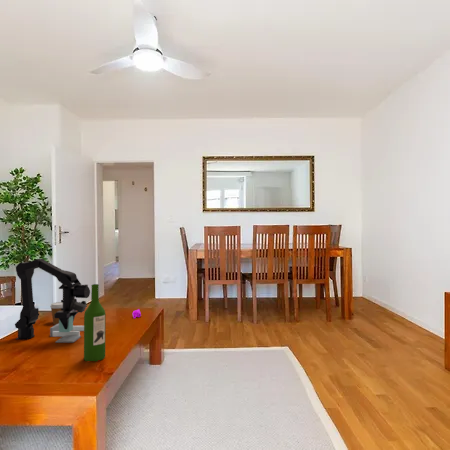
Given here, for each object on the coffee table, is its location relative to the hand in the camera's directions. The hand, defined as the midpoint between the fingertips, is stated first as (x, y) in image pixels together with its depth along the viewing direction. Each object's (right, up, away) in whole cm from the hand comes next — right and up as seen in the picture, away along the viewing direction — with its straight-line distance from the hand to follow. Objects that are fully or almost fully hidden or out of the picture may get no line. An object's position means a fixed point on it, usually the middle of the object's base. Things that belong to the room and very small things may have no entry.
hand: (68, 327), depth 177 cm
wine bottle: (+23, -6, -25) cm, 35 cm away
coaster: (0, -6, 0) cm, 6 cm away
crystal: (+24, -7, +45) cm, 51 cm away
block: (-1, -2, 0) cm, 2 cm away
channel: (-4, -6, +11) cm, 13 cm away
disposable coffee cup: (-20, -7, +31) cm, 37 cm away
